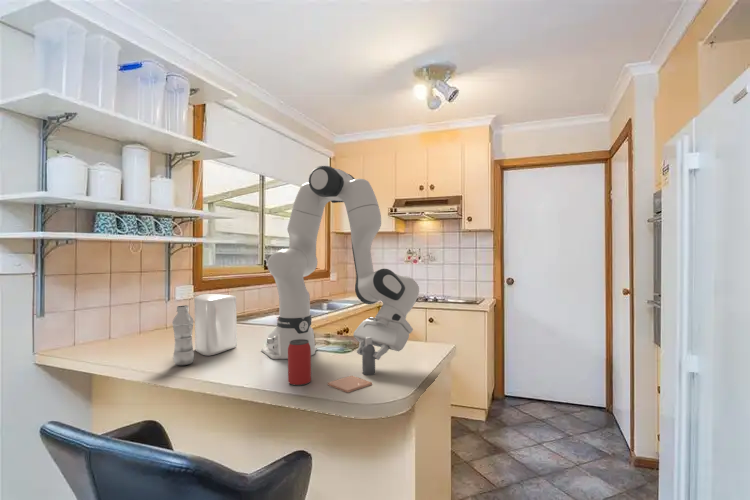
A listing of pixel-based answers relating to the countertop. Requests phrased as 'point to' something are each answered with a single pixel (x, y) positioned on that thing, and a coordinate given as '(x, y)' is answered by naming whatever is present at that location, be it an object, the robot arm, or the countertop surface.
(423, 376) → the countertop surface
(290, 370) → the beer can
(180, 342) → the plastic bottle
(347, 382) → the tile
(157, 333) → the countertop surface
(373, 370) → the grey pump bottle
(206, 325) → the white rounded block
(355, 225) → the robot arm
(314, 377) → the countertop surface
